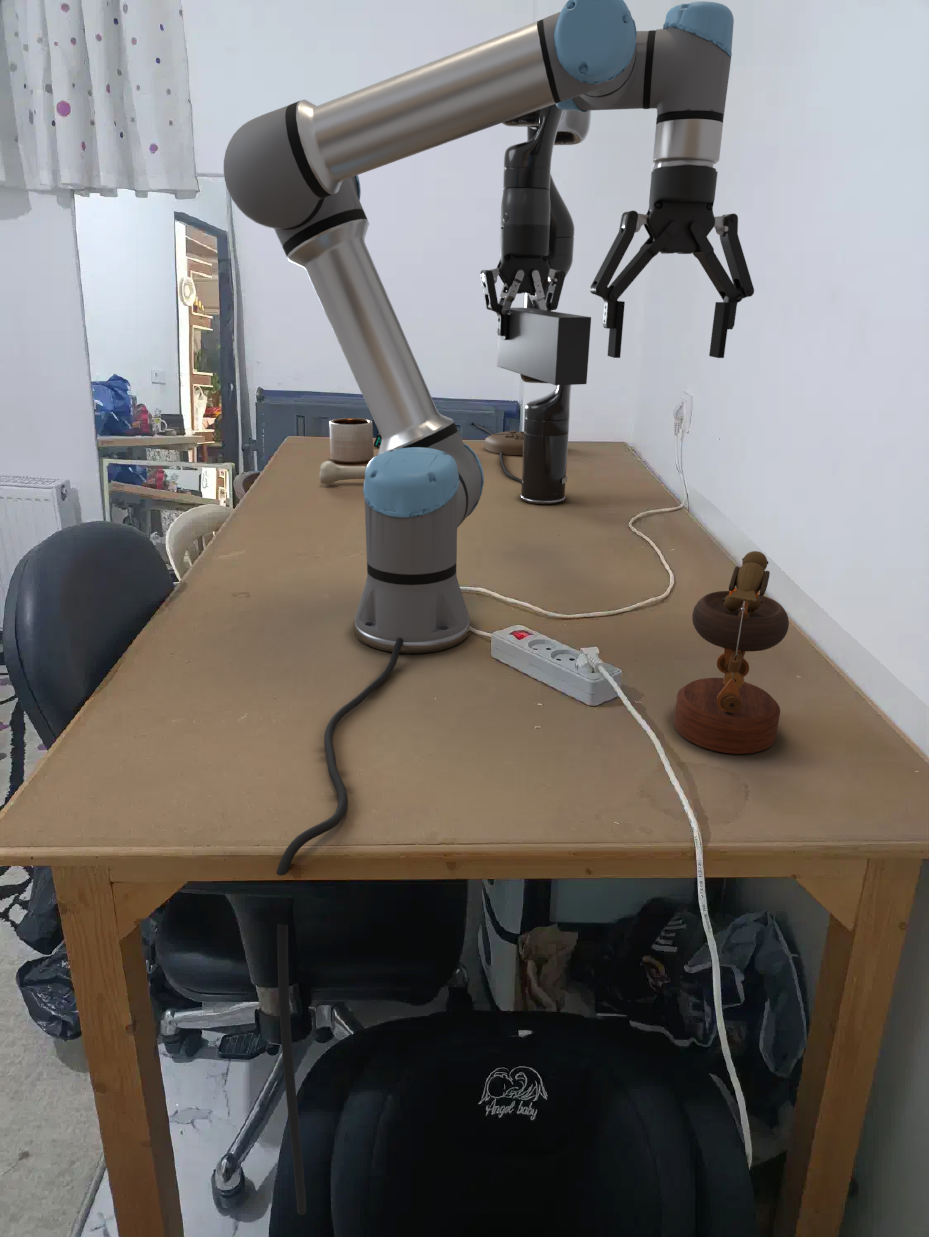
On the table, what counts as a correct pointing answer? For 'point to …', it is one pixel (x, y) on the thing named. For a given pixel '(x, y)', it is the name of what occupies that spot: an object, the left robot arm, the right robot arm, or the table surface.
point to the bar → (546, 346)
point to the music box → (734, 665)
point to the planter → (351, 440)
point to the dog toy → (340, 472)
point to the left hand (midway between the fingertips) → (665, 357)
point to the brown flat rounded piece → (506, 443)
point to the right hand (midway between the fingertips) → (520, 338)
